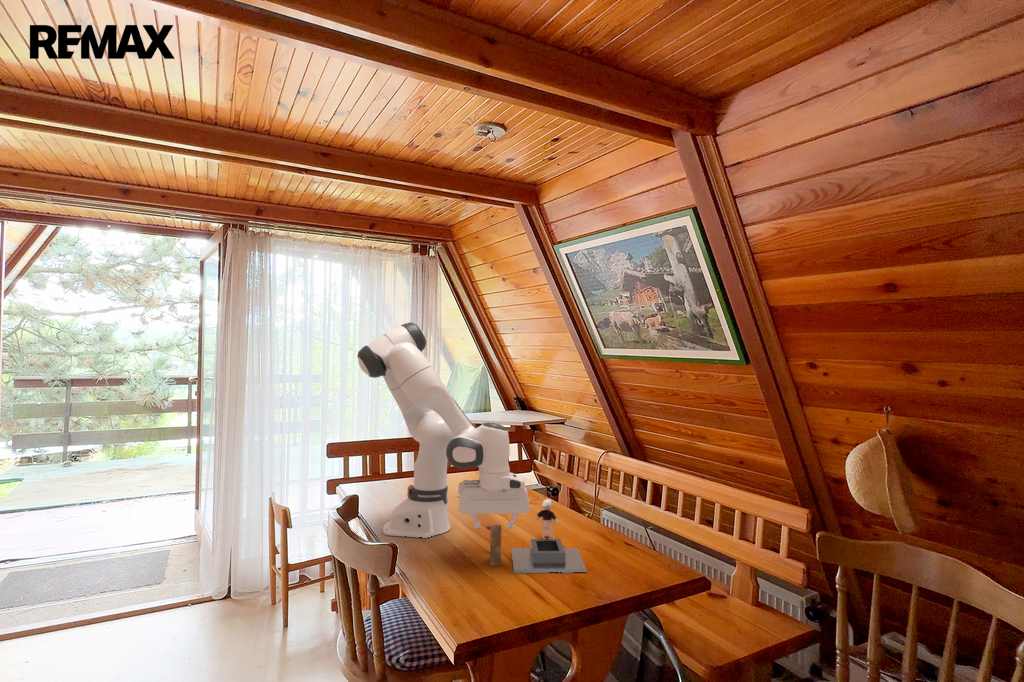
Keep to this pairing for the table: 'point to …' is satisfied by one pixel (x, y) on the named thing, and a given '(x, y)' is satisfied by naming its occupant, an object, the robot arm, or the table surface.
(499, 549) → the walnut wedge
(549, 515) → the grandmother figurine
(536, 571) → the grey socket base
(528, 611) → the table surface
